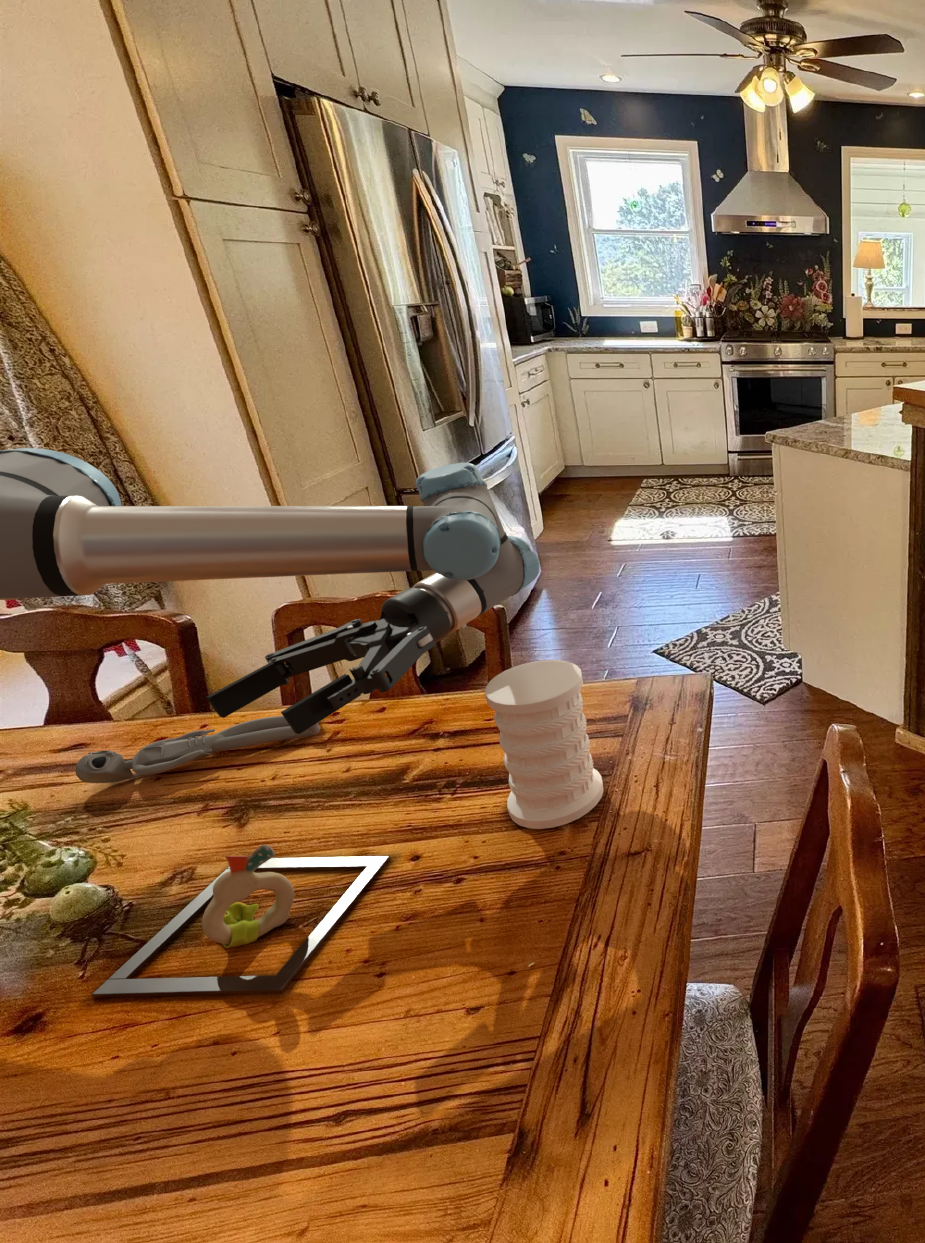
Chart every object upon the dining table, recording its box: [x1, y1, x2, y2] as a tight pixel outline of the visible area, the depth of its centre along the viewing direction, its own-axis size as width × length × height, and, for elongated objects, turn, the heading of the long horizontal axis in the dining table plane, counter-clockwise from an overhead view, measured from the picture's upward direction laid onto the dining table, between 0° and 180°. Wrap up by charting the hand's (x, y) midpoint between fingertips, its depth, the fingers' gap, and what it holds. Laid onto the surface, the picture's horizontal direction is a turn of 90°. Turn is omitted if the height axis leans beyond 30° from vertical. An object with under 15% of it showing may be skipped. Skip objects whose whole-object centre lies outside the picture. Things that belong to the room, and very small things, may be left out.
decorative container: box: [484, 659, 605, 830], centre depth 91 cm, size 12×12×18 cm
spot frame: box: [91, 855, 391, 999], centre depth 75 cm, size 17×17×1 cm
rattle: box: [201, 844, 295, 949], centre depth 73 cm, size 8×8×12 cm
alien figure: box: [74, 715, 321, 784], centre depth 100 cm, size 8×5×25 cm
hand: (250, 715), depth 73 cm, fingers open, 13 cm apart
